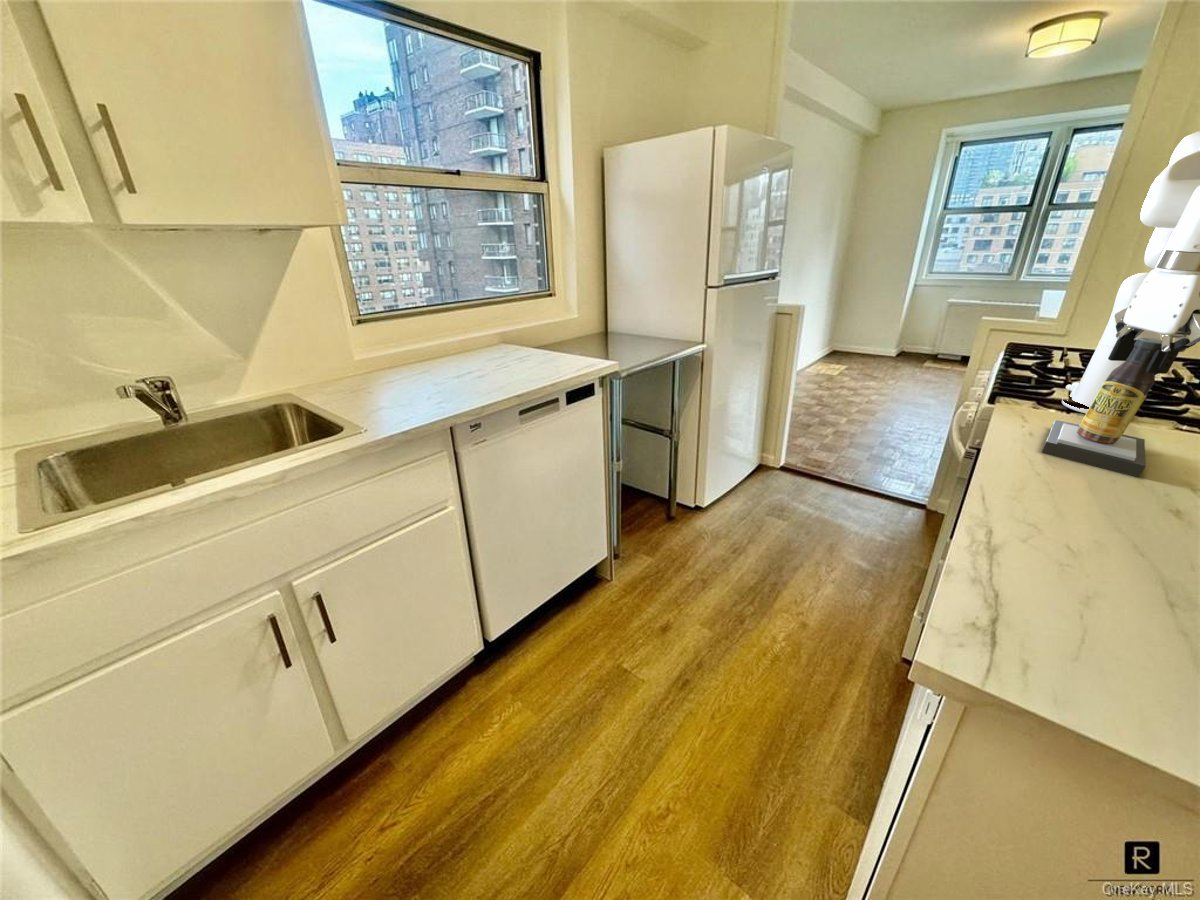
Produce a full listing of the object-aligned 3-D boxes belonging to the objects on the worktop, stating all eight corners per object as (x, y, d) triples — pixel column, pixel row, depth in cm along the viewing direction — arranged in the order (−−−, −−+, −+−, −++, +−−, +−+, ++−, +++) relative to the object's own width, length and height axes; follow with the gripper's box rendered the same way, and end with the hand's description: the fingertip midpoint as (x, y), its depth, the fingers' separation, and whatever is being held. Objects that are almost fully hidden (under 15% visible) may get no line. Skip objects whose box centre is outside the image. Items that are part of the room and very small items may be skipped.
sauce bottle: (1068, 434, 97) (1117, 336, 88) (1085, 429, 99) (1135, 333, 90) (1109, 448, 92) (1166, 345, 83) (1126, 442, 94) (1183, 342, 85)
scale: (1050, 429, 107) (1056, 416, 106) (1138, 449, 99) (1146, 435, 97) (1041, 452, 97) (1048, 438, 96) (1138, 477, 88) (1148, 462, 87)
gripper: (1275, 270, 73) (1207, 382, 81) (1164, 258, 88) (1115, 353, 96) (1222, 269, 73) (1159, 381, 81) (1120, 257, 88) (1076, 352, 97)
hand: (1136, 365), depth 89 cm, fingers open, 7 cm apart
